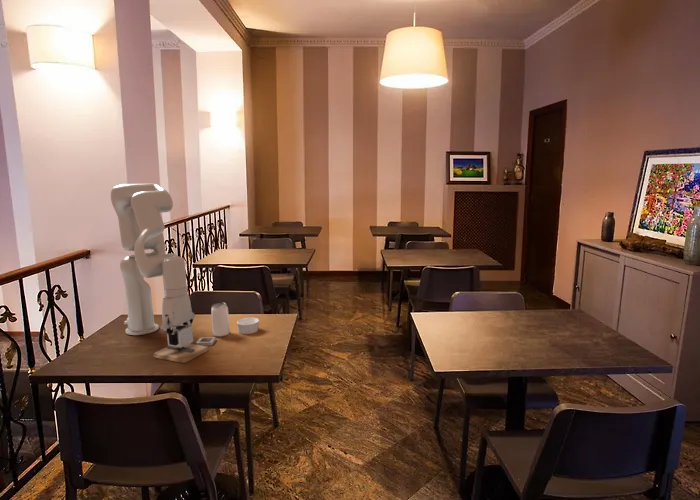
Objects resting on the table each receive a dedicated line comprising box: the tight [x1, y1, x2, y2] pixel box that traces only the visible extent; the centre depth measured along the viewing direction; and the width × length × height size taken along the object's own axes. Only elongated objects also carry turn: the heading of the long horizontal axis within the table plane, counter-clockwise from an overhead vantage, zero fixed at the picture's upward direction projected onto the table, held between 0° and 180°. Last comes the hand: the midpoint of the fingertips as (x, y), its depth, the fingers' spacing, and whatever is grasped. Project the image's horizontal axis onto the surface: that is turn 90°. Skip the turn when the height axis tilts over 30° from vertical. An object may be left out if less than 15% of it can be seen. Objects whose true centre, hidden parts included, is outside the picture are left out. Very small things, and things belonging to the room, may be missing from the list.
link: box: [166, 324, 194, 348], centre depth 169 cm, size 6×6×6 cm
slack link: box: [195, 336, 217, 347], centre depth 180 cm, size 6×6×1 cm
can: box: [210, 302, 231, 338], centre depth 189 cm, size 6×6×12 cm
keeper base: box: [152, 343, 209, 364], centre depth 169 cm, size 14×12×8 cm
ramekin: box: [236, 317, 260, 335], centre depth 192 cm, size 9×9×4 cm
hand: (180, 341), depth 169 cm, fingers closed on link, 6 cm apart
